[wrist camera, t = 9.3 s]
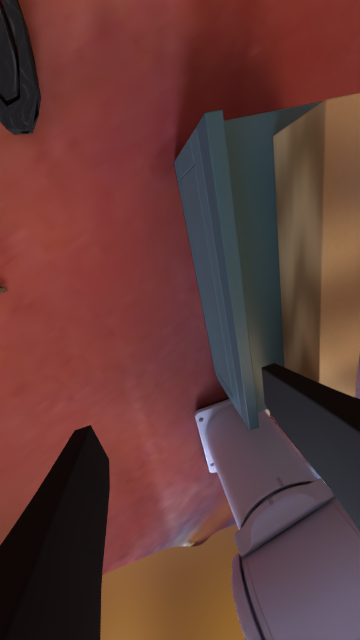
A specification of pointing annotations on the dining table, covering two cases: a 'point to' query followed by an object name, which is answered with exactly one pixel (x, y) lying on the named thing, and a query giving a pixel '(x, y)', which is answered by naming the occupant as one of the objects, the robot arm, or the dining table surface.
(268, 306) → the shelf
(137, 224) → the dining table surface
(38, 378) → the dining table surface
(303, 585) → the robot arm
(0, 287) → the place setting
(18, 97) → the hairbrush
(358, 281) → the stick
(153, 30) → the dining table surface
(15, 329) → the dining table surface
